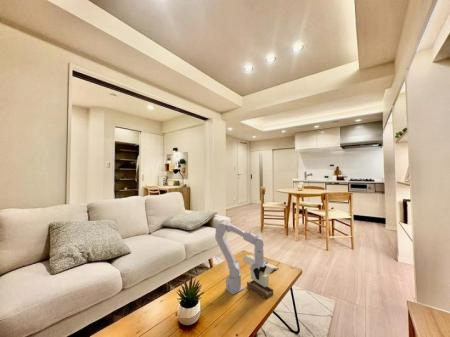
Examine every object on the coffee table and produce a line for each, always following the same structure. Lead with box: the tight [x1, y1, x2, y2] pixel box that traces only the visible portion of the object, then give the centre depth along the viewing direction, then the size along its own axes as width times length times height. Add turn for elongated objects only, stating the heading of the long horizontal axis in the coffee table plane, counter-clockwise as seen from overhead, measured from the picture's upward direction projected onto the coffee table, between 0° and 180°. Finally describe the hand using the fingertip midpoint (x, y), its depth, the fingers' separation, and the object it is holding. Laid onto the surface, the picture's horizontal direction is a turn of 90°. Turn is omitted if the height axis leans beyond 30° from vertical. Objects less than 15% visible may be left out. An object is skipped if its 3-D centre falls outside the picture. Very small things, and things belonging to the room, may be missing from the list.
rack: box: [246, 279, 274, 300], centre depth 120 cm, size 7×16×3 cm, turn 37°
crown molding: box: [241, 254, 280, 275], centre depth 154 cm, size 29×12×4 cm, turn 39°
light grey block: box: [250, 270, 270, 287], centre depth 121 cm, size 4×12×6 cm, turn 37°
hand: (259, 278), depth 120 cm, fingers closed on light grey block, 3 cm apart
